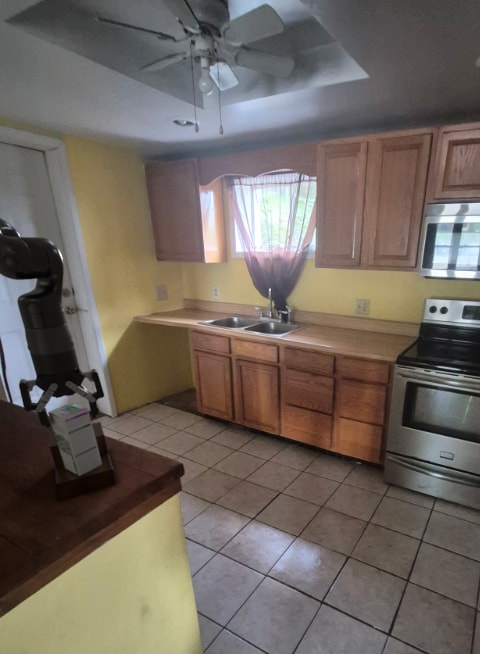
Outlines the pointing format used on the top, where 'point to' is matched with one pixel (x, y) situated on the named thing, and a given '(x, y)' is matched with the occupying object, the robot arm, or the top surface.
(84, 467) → the syrup box
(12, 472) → the top surface
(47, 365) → the robot arm
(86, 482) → the shelf riser
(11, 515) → the top surface
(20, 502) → the top surface
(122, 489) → the top surface
